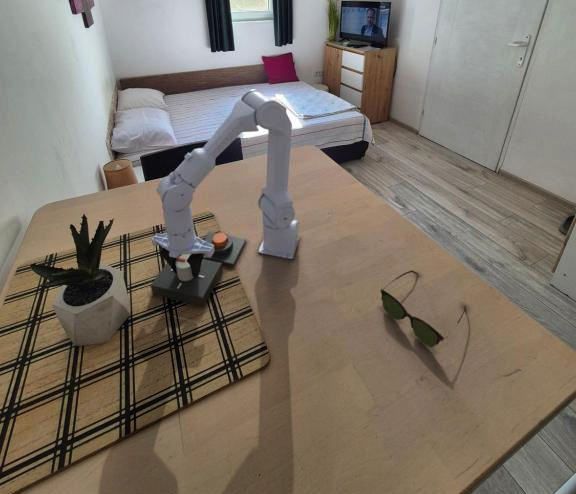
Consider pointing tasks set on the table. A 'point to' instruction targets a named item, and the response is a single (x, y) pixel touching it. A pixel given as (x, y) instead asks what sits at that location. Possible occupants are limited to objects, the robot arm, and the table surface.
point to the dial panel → (188, 284)
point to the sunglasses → (412, 318)
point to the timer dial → (184, 268)
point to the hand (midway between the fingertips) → (187, 272)
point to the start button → (219, 240)
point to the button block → (226, 250)
